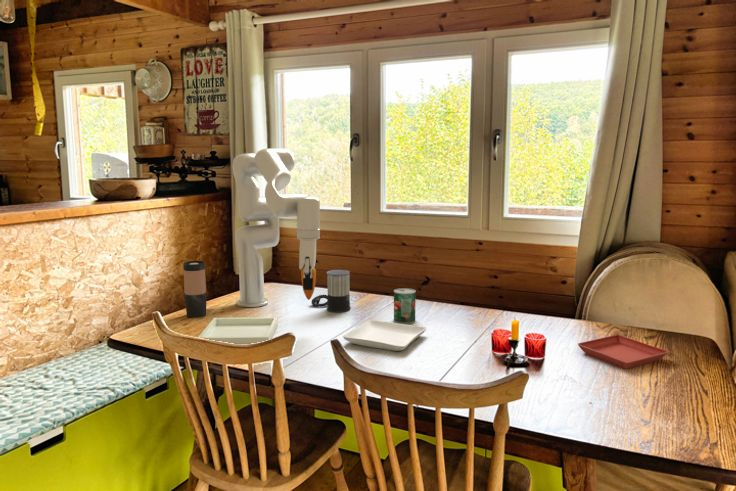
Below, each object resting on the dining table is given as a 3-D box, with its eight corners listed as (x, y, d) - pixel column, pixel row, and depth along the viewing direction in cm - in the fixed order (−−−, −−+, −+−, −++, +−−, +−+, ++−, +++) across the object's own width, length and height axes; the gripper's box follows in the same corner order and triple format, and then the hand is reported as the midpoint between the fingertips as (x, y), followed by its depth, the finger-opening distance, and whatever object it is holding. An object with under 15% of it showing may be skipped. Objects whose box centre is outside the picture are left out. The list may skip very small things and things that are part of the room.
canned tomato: (419, 321, 205) (420, 291, 204) (402, 324, 201) (402, 294, 199) (406, 316, 212) (406, 287, 210) (389, 319, 208) (389, 290, 206)
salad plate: (427, 336, 190) (427, 326, 189) (404, 356, 171) (404, 345, 170) (369, 328, 199) (369, 318, 198) (341, 346, 180) (341, 336, 179)
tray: (214, 326, 200) (214, 317, 199) (277, 325, 200) (277, 317, 200) (197, 347, 178) (197, 337, 178) (268, 346, 179) (268, 337, 178)
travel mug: (210, 312, 217) (207, 260, 214) (202, 318, 209) (199, 264, 206) (190, 312, 218) (188, 260, 214) (182, 317, 210) (179, 264, 207)
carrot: (301, 297, 195) (301, 254, 192) (316, 297, 195) (316, 254, 193) (301, 301, 190) (300, 257, 187) (316, 301, 190) (316, 257, 188)
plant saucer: (626, 373, 158) (627, 361, 157) (575, 353, 173) (576, 342, 173) (669, 362, 166) (670, 351, 165) (616, 344, 182) (617, 334, 181)
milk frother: (350, 312, 216) (349, 274, 214) (308, 312, 217) (307, 274, 214) (351, 303, 231) (351, 267, 228) (312, 303, 231) (312, 266, 228)
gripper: (299, 229, 197) (299, 281, 200) (294, 238, 180) (294, 294, 183) (321, 230, 197) (321, 281, 200) (318, 238, 180) (318, 294, 184)
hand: (308, 286), depth 192 cm, fingers closed on carrot, 4 cm apart
